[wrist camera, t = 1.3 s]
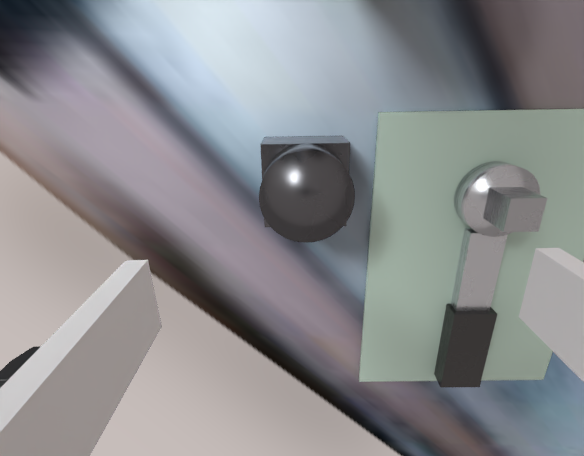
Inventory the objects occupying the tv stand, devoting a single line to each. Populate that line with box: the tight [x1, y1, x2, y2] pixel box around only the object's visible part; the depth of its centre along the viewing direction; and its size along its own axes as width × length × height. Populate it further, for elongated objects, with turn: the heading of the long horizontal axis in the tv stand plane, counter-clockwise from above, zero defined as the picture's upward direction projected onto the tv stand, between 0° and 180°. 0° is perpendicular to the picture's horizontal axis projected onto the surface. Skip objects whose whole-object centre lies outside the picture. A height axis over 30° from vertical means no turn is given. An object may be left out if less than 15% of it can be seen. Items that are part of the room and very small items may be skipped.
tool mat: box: [359, 109, 584, 382], centre depth 33 cm, size 28×20×1 cm
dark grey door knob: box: [259, 136, 355, 242], centre depth 26 cm, size 6×6×7 cm
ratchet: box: [434, 161, 547, 387], centre depth 31 cm, size 23×6×5 cm, turn 1°
